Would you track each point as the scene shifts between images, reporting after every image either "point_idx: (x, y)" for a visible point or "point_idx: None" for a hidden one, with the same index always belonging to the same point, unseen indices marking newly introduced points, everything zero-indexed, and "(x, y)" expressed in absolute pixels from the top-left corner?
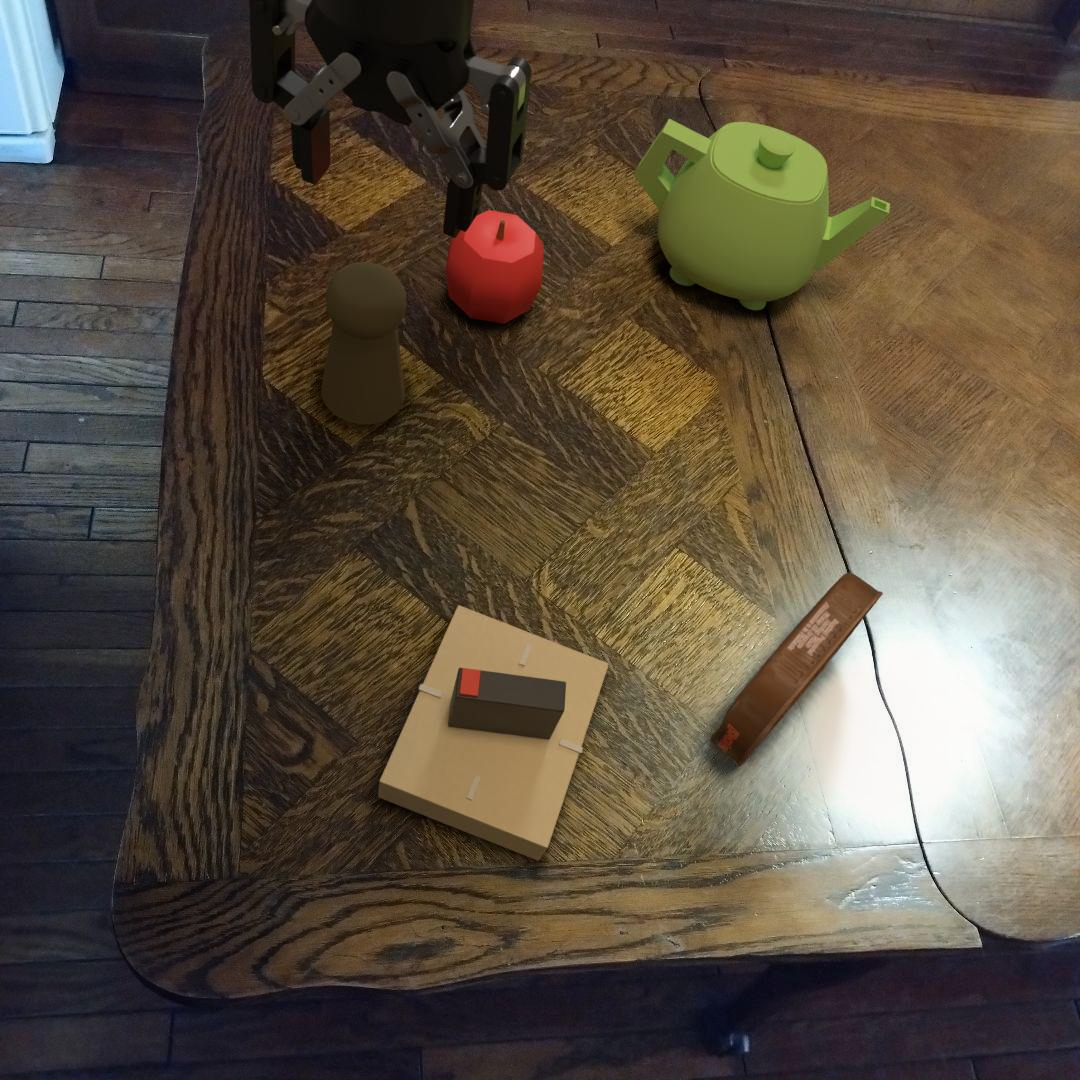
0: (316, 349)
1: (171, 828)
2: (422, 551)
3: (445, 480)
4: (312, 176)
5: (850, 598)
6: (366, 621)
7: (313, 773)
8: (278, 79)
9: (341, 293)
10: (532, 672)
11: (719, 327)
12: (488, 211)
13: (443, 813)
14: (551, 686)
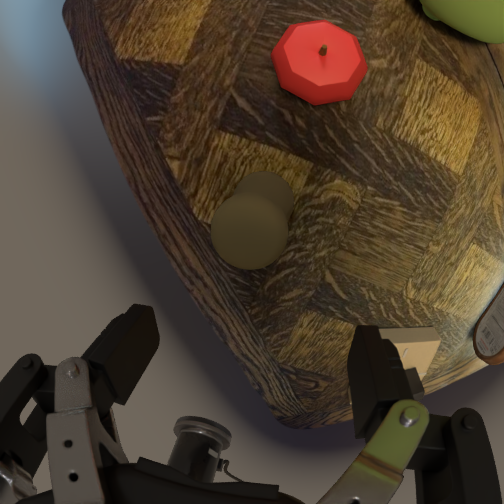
0: (215, 179)
1: (281, 408)
2: (342, 298)
3: (342, 248)
4: (153, 353)
5: None
6: (324, 339)
7: (322, 389)
8: (50, 411)
9: (230, 261)
10: (408, 357)
11: (467, 54)
12: (298, 28)
13: None
14: (418, 395)
